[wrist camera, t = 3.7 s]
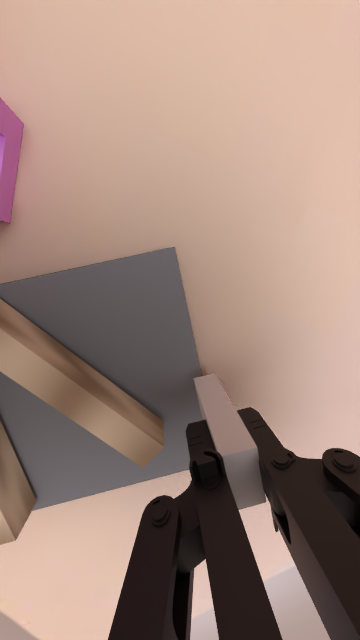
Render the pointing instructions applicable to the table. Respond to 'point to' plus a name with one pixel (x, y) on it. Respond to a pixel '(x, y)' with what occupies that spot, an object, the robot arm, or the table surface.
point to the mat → (105, 371)
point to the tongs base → (12, 492)
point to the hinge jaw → (76, 389)
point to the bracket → (8, 158)
